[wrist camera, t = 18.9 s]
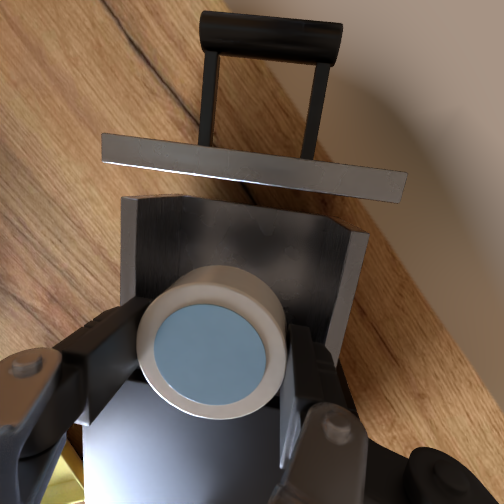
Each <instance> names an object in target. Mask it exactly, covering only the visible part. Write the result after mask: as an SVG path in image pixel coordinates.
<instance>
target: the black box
mask: <svg viewBox="0 0 504 504" xmlns="http://www.w3.org/2000/svg"><path fill="white" fill-rule="evenodd" d="M336 371H337V375H338V378H339V381H340V385H341V388H342V391H343V395H344V398H345V401H346V404H347V408H348V410H349V411H350V412H351V413H353V414H354V415H355V416H356V417H357V418H358V419H359V416H358V413H357V409H356V407H355V404H354V401H353V398H352V395H351V392H350V389H349V386H348V383H347V380H346V377H345V374H344V371H343V368H342V366H341V363H340V360H339V358H338V362H337V366H336ZM359 420H360V419H359ZM82 435H83V462H84V488H85V504H267V503H268V501H269V498H270V496H271V494H272V492H273V489H274V487H275V486H276V484H277V483H278V484H280V482H281V480H282V477H283V475H284V472H285V469H281V468H280V396H275V395H274V396H273V398H272V399H271V400H270V401H269V402H268V403H266V404H265V405H264V406H263V407H261V408H260V409H258V410H257V411H254V412H252V413H250V414H248V415H245V416H242V417H238V418H233V419H223V420H220V419H207V418H202V417H198V416H194V415H191V414H189V413H186V412H184V411H182V410H180V409H178V408H176V407H174V406H173V405H171V404H170V403H168V402H167V401H166V400H165V399H163V398H162V397H161V396H160V395H159V394H158V393H157V392H156V391H155V390H154V389H153V388H152V386H151V385H150V384H149V382H148V381H147V379H146V378H145V376H144V374H143V372H142V370H141V369H138V368H136V369H135V370H134V371H133V373H132V374H131V375H130V376H129V378H128V379H127V380H126V381H125V383H124V384H123V385H122V386H121V388H120V389H119V390H118V391H117V393H116V394H115V395H114V396H113V398H112V399H111V400H110V401H109V403H108V404H107V405H106V406H105V408H104V409H103V410H102V411H101V413H100V414H99V415H98V416H97V417H96V419H95V420H94V421H93V422H92V424H91V425H90V426H86V425H82Z"/></svg>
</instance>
